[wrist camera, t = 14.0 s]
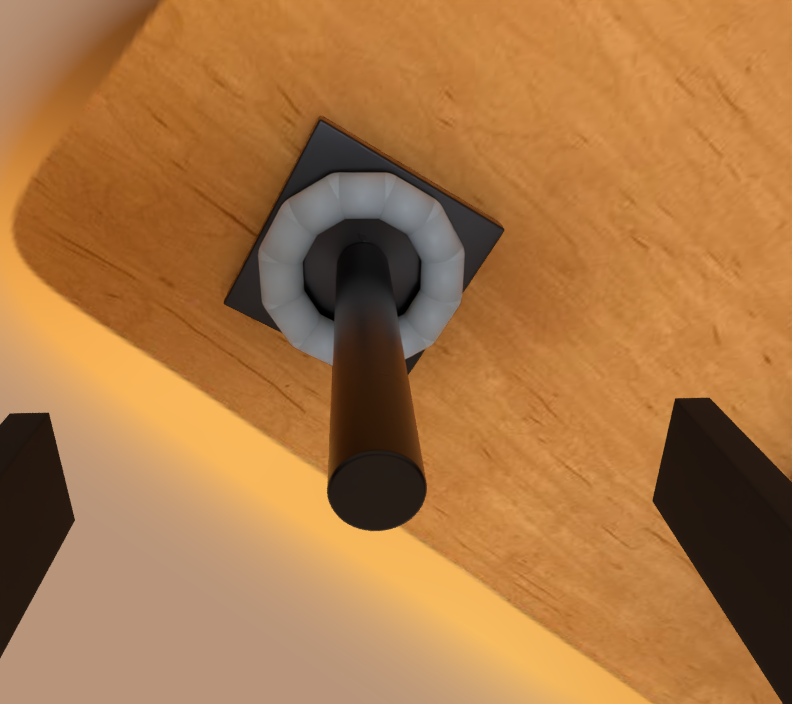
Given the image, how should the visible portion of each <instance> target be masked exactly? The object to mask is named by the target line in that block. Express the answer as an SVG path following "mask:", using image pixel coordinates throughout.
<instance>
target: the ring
mask: <svg viewBox="0 0 792 704" xmlns="http://www.w3.org/2000/svg"><path fill="white" fill-rule="evenodd" d="M344 219H380V220H382V221H384V222H386V223H387V224H389V225H391V226H393V227H395V228H396V229H398V230H400V231H402V232H403V233H405V234H407V236H408V238H409V239H410V241H411V243H412V245H413V246H414V248H415V250H416V252H417V253H418V255H419V257H420V259H421V289H420V290H419V292H418V293H417V295H416V297H415V298H414V300H413V301H412V303H411V304H410V306H409V308H408V309H407V311H406V312H405V313H404V314H403V315H401V316H399V317H398V322H399V328H400V333H401V339H402V345H403V351H404V357H405V359H407V358H409V357H411V356H413V355H414V354H416V353H418V352H420V351H422V350H424V349H426V348H428V347H429V346H431V345H432V344H433V343H434V342H435V341H436V340H437V338H438V337H439V335H440V334H441V332H442V331H443V329H444V328H445V326H446V325H447V323H448V322H449V320H450V319H451V317H452V316H453V314H454V313H455V311H456V310H457V308H458V307H459V305H460V303H461V300H462V291H463V274H464V258H465V252H464V248H463V245H462V243H461V241H460V239H459V237H458V235H457V234H456V232H455V230H454V228H453V226H452V224H451V222H450V221H449V219H448V217H447V215H446V213H445V211H444V209H443V207H442V206H441V204H440V203H439V202H438V201H437V200H436V199H434V198H433V197H431V196H429V195H428V194H426V193H424V192H423V191H421V190H419V189H418V188H416V187H414V186H412V185H411V184H409V183H407V182H406V181H404V180H402V179H401V178H399V177H397V176H395V175H393V174H391V173H385V172H384V173H346V172H338V173H332V174H330V175H328V176H326V177H324V178H322V179H321V180H319V181H317V182H316V183H314V184H312V185H311V186H309V187H307V188H306V189H304V190H302V191H301V192H299V193H297V194H296V195H294V196H292V197H290V198H289V199H287V200H286V201H285V202H284V203H283V204H282V206H281V207H280V209H279V211H278V213H277V215H276V217H275V219H274V221H273V223H272V225H271V226H270V228H269V230H268V232H267V234H266V236H265V238H264V240H263V242H262V244H261V246H260V248H259V253H258V260H259V272H260V285H261V298H262V303H263V305H264V307H265V309H266V310H267V312H268V313H269V315H270V316H271V317H272V319H273V320H274V322H275V323H276V324H277V326H278V327H279V329H280V330H281V332H282V333H283V334H284V336H285V337H286V339H287V340H288V341H289V343H290V344H291V345H292V346H293V347H295V348H296V349H298V350H300V351H302V352H304V353H306V354H308V355H310V356H313V357H315V358H317V359H319V360H321V361H323V362H325V363H327V364H329V365H331V366H333V343H334V321H332V320H330V319H329V318H327V317H325V316H323V315H321V314H320V313H319V311H318V310H317V309H316V307H315V306H314V304H313V303H312V301H311V300H310V298H309V297H308V295H307V294H306V292H305V291H304V277H303V260H304V258H305V256H306V255H307V253H308V251H309V249H310V247H311V246H312V244H313V242H314V240H315V238H316V237H317V235H318V234H320V233H322V232H323V231H325V230H327V229H329V228H330V227H332V226H334V225H336V224H337V223H339V222H341V221H342V220H344Z"/></svg>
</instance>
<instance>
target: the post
mask: <svg viewBox="0 0 792 704" xmlns="http://www.w3.org/2000/svg"><path fill="white" fill-rule="evenodd" d="M338 172H346V173H384V172H385V173H391V174H393V175H395V176H397V177H399V178H401V179H402V180H404V181H406V182H407V183H409V184H411V185H412V186H414V187H416V188H418V189H419V190H421V191H423V192H424V193H426V194H428V195H429V196H431V197H433V198H434V199H436V200H437V201H438V202H439V203H440V204H441V206H442V207H443V209H444V211H445V213H446V215H447V217H448V219H449V221H450V222H451V224H452V226H453V228H454V230H455V232H456V234H457V235H458V237H459V239H460V241H461V243H462V245H463V248H464V252H465V258H464V274H463V291H462V294H463V292H464V291H465V289H466V288H467V286H468V285H469V283H470V282H471V280H472V279H473V277H474V276H475V274H476V273H477V271H478V270H479V268H480V267H481V265H482V264H483V262H484V261H485V259H486V258H487V256H488V255H489V253H490V252H491V250H492V249H493V247H494V246H495V244H496V243H497V241H498V240H499V238H500V237H501V235H502V234H503V232H504V228H503V226H502V225H501V224H500V223H499V222H498V221H496V220H495V219H493V218H491V217H490V216H488V215H486V214H485V213H483V212H481V211H480V210H478V209H476V208H475V207H473V206H471V205H470V204H468V203H466V202H465V201H463V200H461V199H460V198H458V197H456V196H455V195H453V194H451V193H450V192H448V191H446V190H445V189H443V188H441V187H440V186H438V185H436V184H435V183H433V182H431V181H430V180H428V179H426V178H425V177H423V176H421V175H420V174H418V173H416V172H415V171H413V170H411V169H410V168H408V167H406V166H405V165H403V164H401V163H400V162H398V161H396V160H395V159H393V158H391V157H390V156H388V155H386V154H385V153H383V152H381V151H380V150H378V149H376V148H375V147H373V146H371V145H370V144H368V143H366V142H365V141H363V140H361V139H360V138H358V137H356V136H355V135H353V134H351V133H350V132H348V131H346V130H345V129H343V128H341V127H340V126H338V125H336V124H335V123H333V122H331V121H330V120H328V119H326V118H325V117H323V116H320V117H319V119H318V121H317V123H316V124H315V126H314V128H313V130H312V132H311V134H310V136H309V138H308V140H307V142H306V144H305V146H304V147H303V149H302V151H301V153H300V155H299V157H298V159H297V161H296V163H295V165H294V167H293V169H292V171H291V172H290V174H289V176H288V178H287V180H286V182H285V184H284V186H283V188H282V190H281V192H280V194H279V196H278V197H277V199H276V201H275V203H274V205H273V207H272V209H271V211H270V213H269V215H268V217H267V219H266V220H265V222H264V224H263V226H262V228H261V230H260V232H259V234H258V236H257V238H256V240H255V242H254V244H253V245H252V247H251V249H250V251H249V253H248V255H247V257H246V259H245V261H244V263H243V265H242V267H241V268H240V270H239V272H238V274H237V276H236V278H235V280H234V282H233V284H232V286H231V288H230V290H229V292H228V293H227V296H226V298H225V300H224V304H225V305H227V306H229V307H231V308H233V309H235V310H237V311H239V312H241V313H243V314H245V315H247V316H249V317H251V318H253V319H255V320H257V321H259V322H261V323H263V324H265V325H267V326H269V327H271V328H273V329H275V330H277V331H279V332H281V330H280V329H279V327H278V326H277V324H276V323H275V322H274V320H273V319H272V317H271V316H270V315H269V313H268V312H267V310H266V309H265V307H264V305H263V303H262V298H261V285H260V272H259V260H258V253H259V248H260V246H261V244H262V242H263V240H264V238H265V236H266V234H267V232H268V230H269V228H270V226H271V225H272V223H273V221H274V219H275V217H276V215H277V213H278V211H279V209H280V207H281V206H282V204H283V203H284V202H285V201H286V200H287V199H289V198H290V197H292V196H294V195H296V194H297V193H299V192H301V191H302V190H304V189H306V188H307V187H309V186H311V185H312V184H314V183H316V182H317V181H319V180H321V179H322V178H324V177H326V176H328V175H330V174H332V173H338ZM303 277H304V291H305V292H306V294H307V295H308V297H309V298H310V300H311V301H312V303H313V304H314V306H315V307H316V309H317V310H318V311H319V313H320V314H321V315H323V316H325V317H327V318H329V319H330V320H332V321H334V343H333V367H332V390H331V414H330V438H329V462H328V487H327V494H328V499H329V503H330V505H331V507H332V509H333V510H334V512H335V513H336V514H337V515H338V516H339V517H340V518H341V519H342V520H343V521H344V522H346V523H347V524H349V525H351V526H353V527H356V528H359V529H362V530H368V531H383V530H388V529H392V528H396V527H398V526H400V525H402V524H404V523H406V522H407V521H409V520H410V519H411V518H412V517H414V516H415V515H416V513H417V512H418V511H419V510H420V508H421V506H422V505H423V502H424V500H425V497H426V492H427V483H426V478H425V472H424V466H423V460H422V455H421V449H420V443H419V437H418V432H417V426H416V420H415V414H414V408H413V403H412V397H411V391H410V385H409V380H408V375H409V373H410V372H411V370H412V369H413V367H414V366H415V364H416V363H417V361H418V360H419V358H420V357H421V355H422V354H423V352H424V351H425V349H424V350H422V351H420V352H418V353H416V354H414V355H413V356H411V357H409V358H407V359H405V357H404V351H403V345H402V339H401V333H400V328H399V322H398V317H399V316H401V315H403V314H404V313H405V312H406V311H407V309H408V308H409V306H410V304H411V303H412V301H413V300H414V298H415V297H416V295H417V293H418V292H419V290H420V289H421V259H420V257H419V255H418V253H417V252H416V250H415V248H414V246H413V245H412V243H411V241H410V239H409V238H408V236H407V234H405V233H403V232H402V231H400V230H398V229H396V228H395V227H393V226H391V225H389V224H387V223H386V222H384V221H382V220H380V219H344V220H342V221H341V222H339V223H337V224H336V225H334V226H332V227H330V228H329V229H327V230H325V231H323V232H322V233H320V234H318V235H317V237H316V238H315V240H314V242H313V244H312V246H311V247H310V249H309V251H308V253H307V255H306V256H305V258H304V260H303ZM281 333H282V332H281Z"/></svg>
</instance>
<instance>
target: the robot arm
mask: <svg viewBox="0 0 792 704" xmlns="http://www.w3.org/2000/svg"><path fill="white" fill-rule="evenodd" d="M653 503H654V504H655V506H656V507H657V509H658V511H659V512H660V514H661V515H662V517H663V518H664V520H665V521H666V523H667V524H668V526H669V528H670V529H671V531H672V532H673V534H674V535H675V537H676V538H677V540H678V542H679V543H680V545H681V546H682V548H683V549H684V551H685V552H686V554H687V556H688V557H689V559H690V560H691V562H692V563H693V565H694V566H695V568H696V569H697V571H698V573H699V574H700V576H701V577H702V579H703V580H704V582H705V583H706V585H707V587H708V588H709V590H710V591H711V593H712V594H713V596H714V597H715V599H716V601H717V602H718V604H719V605H720V607H721V608H722V610H723V611H724V613H725V615H726V616H727V618H728V619H729V621H730V622H731V624H732V625H733V627H734V628H735V630H736V632H737V633H738V635H739V636H740V638H741V639H742V641H743V642H744V644H745V646H746V647H747V649H748V650H749V652H750V653H751V655H752V656H753V658H754V660H755V661H756V663H757V664H758V666H759V667H760V669H761V670H762V672H763V673H764V675H765V677H766V678H767V680H768V681H769V683H770V684H771V686H772V687H773V689H774V691H775V692H776V694H777V695H778V697H779V698H780V700H781V701H782V703H783V704H792V482H791V481H790V480H789V479H788V478H787V477H786V476H785V475H784V474H783V473H782V472H781V471H780V470H779V469H778V468H777V467H776V466H775V465H774V464H773V463H772V462H771V461H770V460H769V458H768V457H767V456H766V455H765V454H764V453H763V452H762V451H761V450H760V449H759V448H758V447H757V446H756V445H755V444H754V443H753V442H752V441H751V440H750V439H749V438H748V437H747V436H746V435H745V434H744V433H743V432H742V431H741V430H740V429H739V428H738V427H737V426H736V425H735V424H734V423H733V422H732V420H731V419H730V418H729V417H728V416H727V415H726V414H725V413H724V412H723V411H722V410H721V409H720V408H719V407H718V406H717V405H716V404H715V403H714V402H713V401H712V400H711V399H710V398H676V399H675V402H674V406H673V411H672V415H671V420H670V424H669V429H668V433H667V438H666V442H665V447H664V451H663V456H662V460H661V465H660V469H659V474H658V478H657V483H656V487H655V492H654V496H653ZM74 521H75V519H74V515H73V510H72V506H71V502H70V498H69V494H68V490H67V486H66V482H65V477H64V474H63V469H62V465H61V461H60V457H59V453H58V449H57V444H56V440H55V436H54V432H53V428H52V424H51V420H50V415H49V413H14V414H9V415H8V416H7V418H6V419H5V420H4V421H3V422H2V423H1V424H0V658H1V656H2V654H3V652H4V650H5V648H6V647H7V645H8V643H9V641H10V639H11V637H12V635H13V633H14V632H15V630H16V628H17V626H18V624H19V623H20V621H21V619H22V617H23V615H24V613H25V611H26V610H27V608H28V606H29V604H30V602H31V600H32V599H33V597H34V595H35V593H36V591H37V589H38V587H39V586H40V584H41V582H42V580H43V578H44V576H45V574H46V572H47V571H48V569H49V567H50V565H51V563H52V562H53V560H54V558H55V556H56V554H57V552H58V550H59V549H60V547H61V545H62V543H63V541H64V539H65V538H66V536H67V534H68V532H69V530H70V528H71V526H72V525H73V523H74Z"/></svg>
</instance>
